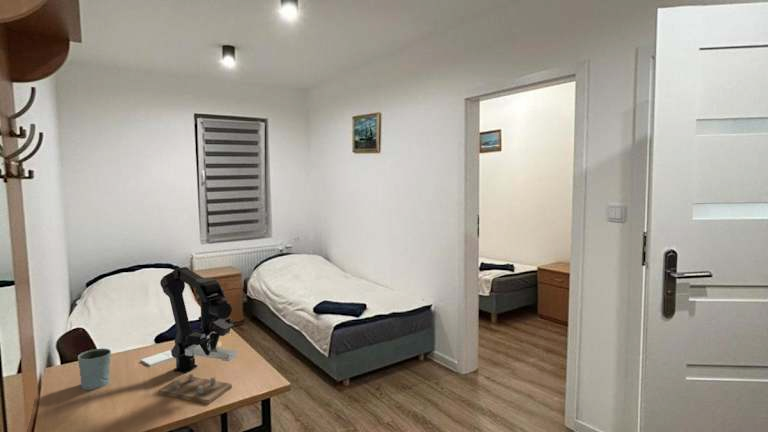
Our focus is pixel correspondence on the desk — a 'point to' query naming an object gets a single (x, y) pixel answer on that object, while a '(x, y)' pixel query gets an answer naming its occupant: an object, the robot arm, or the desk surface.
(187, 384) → the peg board
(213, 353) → the grey i-beam piece
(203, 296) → the robot arm
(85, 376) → the grey-blue cup
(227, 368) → the desk surface
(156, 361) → the external hard drive
